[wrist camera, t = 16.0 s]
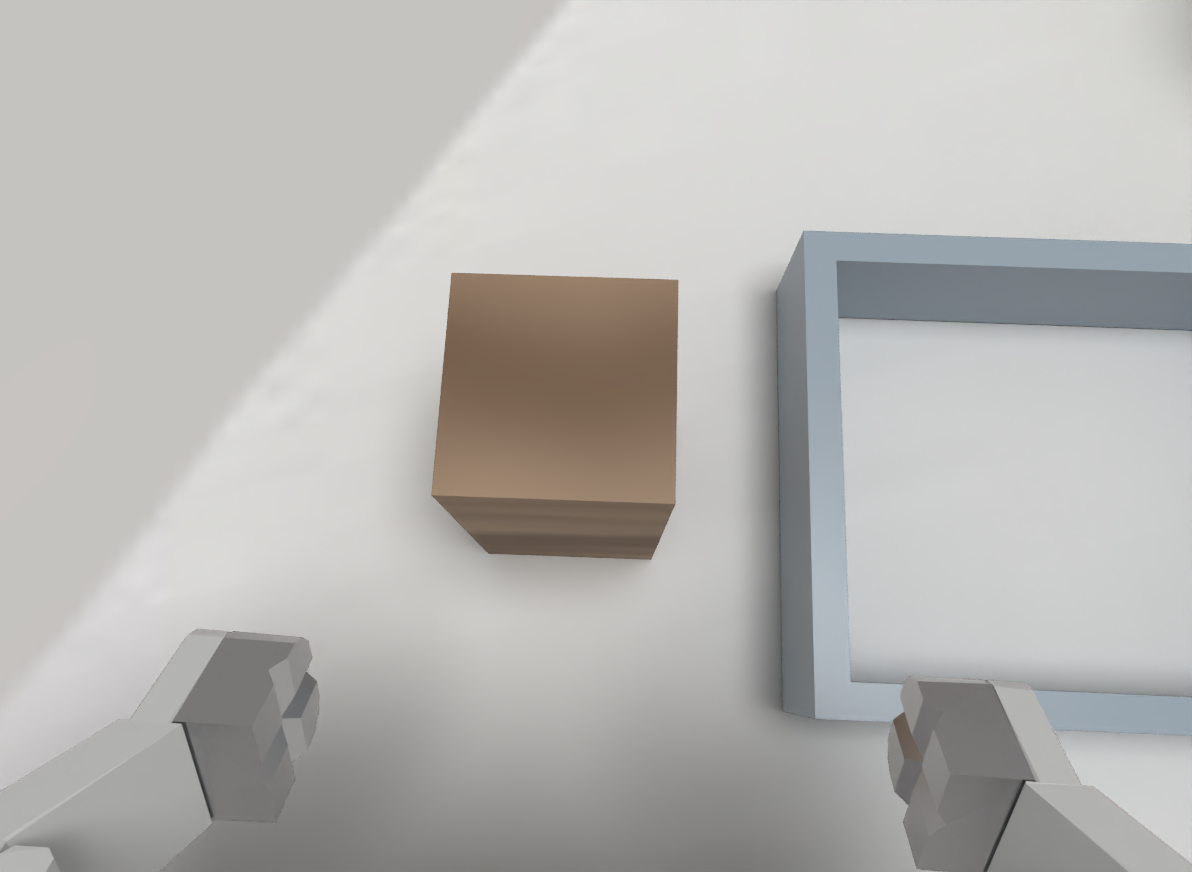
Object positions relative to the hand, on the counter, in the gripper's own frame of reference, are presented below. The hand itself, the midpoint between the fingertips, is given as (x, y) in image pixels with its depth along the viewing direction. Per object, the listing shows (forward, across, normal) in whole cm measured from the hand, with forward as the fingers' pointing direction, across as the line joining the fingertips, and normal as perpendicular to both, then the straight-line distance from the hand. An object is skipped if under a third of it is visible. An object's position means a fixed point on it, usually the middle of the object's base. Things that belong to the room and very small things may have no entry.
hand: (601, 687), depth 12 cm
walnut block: (+11, +1, +4) cm, 12 cm away
